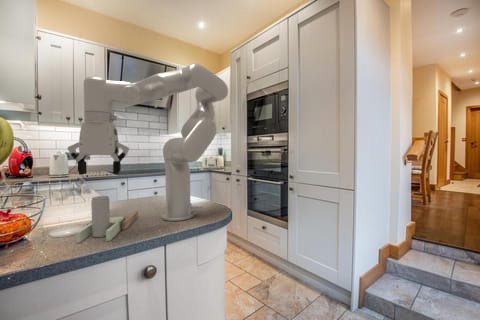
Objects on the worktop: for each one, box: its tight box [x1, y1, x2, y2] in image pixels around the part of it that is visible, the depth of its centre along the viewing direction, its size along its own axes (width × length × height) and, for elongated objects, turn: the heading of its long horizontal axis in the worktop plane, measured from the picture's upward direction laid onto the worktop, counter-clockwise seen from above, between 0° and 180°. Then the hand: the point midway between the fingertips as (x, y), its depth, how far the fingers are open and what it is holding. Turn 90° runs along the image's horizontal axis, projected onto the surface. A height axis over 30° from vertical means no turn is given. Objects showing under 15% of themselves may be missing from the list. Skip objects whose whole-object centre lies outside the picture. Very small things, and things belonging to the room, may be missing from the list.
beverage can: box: [90, 195, 111, 238], centre depth 72 cm, size 5×5×12 cm
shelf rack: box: [86, 210, 139, 231], centre depth 83 cm, size 12×15×2 cm
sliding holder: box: [75, 216, 126, 244], centre depth 73 cm, size 9×14×3 cm, turn 10°
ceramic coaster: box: [49, 224, 85, 239], centre depth 74 cm, size 9×9×1 cm
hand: (99, 174), depth 72 cm, fingers open, 9 cm apart
